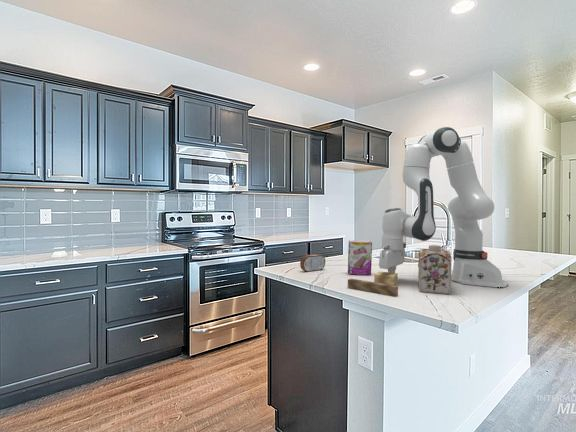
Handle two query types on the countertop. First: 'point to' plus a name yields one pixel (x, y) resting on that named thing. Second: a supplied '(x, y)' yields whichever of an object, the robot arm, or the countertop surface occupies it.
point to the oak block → (386, 278)
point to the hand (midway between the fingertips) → (391, 276)
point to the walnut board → (373, 287)
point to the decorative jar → (434, 270)
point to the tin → (312, 262)
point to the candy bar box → (359, 257)
